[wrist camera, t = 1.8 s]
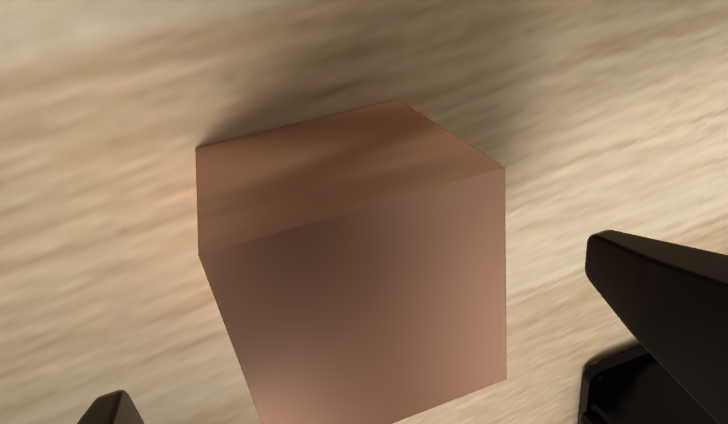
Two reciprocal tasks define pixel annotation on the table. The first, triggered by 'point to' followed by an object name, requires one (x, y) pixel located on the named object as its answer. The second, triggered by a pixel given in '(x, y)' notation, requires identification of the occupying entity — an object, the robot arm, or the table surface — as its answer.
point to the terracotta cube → (356, 264)
